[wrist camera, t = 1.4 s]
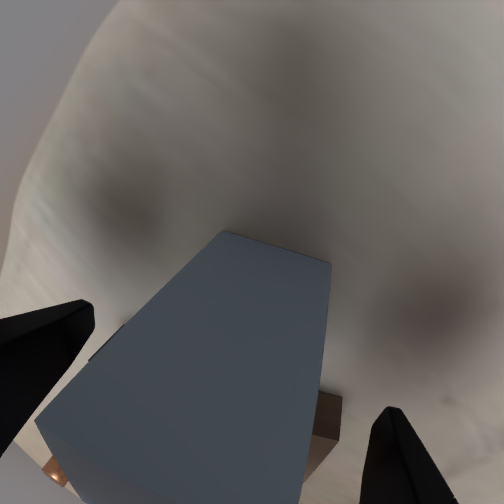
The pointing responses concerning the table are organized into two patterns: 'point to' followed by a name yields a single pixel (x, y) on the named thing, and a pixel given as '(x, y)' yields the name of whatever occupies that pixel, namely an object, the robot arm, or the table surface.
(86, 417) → the slate blue cuboid
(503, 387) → the table surface
